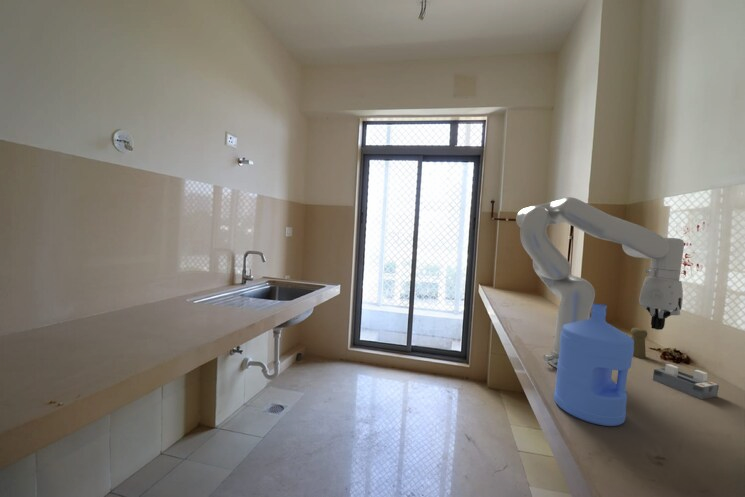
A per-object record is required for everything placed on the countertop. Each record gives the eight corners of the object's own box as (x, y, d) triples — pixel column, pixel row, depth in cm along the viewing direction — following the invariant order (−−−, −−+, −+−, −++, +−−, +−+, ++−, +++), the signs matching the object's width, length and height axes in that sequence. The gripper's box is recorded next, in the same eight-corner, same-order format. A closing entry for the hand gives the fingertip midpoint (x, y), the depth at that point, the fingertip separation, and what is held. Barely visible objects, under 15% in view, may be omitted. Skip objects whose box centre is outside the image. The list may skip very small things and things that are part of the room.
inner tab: (673, 379, 102) (674, 367, 102) (664, 376, 104) (665, 364, 104) (677, 379, 103) (678, 367, 102) (668, 375, 105) (669, 364, 105)
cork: (649, 359, 126) (653, 331, 125) (632, 357, 127) (635, 329, 126) (640, 353, 132) (643, 327, 131) (623, 351, 133) (626, 325, 132)
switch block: (701, 399, 95) (703, 386, 95) (652, 379, 107) (654, 368, 106) (717, 396, 97) (718, 384, 97) (668, 377, 109) (669, 366, 109)
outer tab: (702, 386, 99) (703, 373, 98) (692, 382, 101) (694, 370, 101) (706, 385, 99) (707, 373, 99) (696, 382, 102) (697, 369, 101)
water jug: (543, 403, 86) (554, 300, 84) (567, 389, 95) (578, 296, 94) (612, 436, 73) (627, 316, 72) (633, 415, 83) (646, 309, 81)
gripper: (632, 271, 112) (625, 322, 113) (685, 278, 98) (676, 336, 99) (646, 271, 115) (639, 321, 116) (700, 278, 101) (691, 336, 102)
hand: (657, 328), depth 108 cm, fingers closed
